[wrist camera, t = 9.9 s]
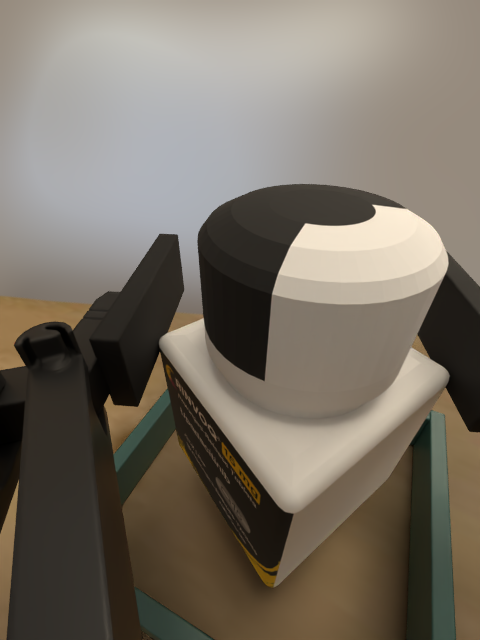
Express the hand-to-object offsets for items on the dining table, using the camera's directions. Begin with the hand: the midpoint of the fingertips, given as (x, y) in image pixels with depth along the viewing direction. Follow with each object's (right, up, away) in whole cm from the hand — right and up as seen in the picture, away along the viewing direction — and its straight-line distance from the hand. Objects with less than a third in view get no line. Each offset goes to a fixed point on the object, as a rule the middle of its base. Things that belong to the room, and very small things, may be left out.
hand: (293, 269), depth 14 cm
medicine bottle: (0, -9, +2) cm, 9 cm away
